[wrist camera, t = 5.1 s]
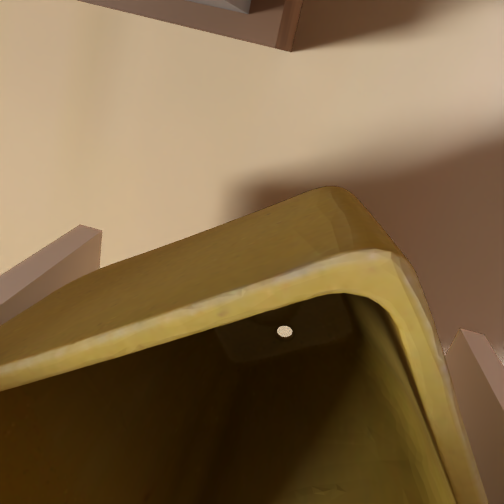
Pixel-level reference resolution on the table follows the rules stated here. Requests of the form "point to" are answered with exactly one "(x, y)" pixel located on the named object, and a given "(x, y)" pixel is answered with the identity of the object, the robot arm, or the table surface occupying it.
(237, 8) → the grey top slab
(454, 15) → the table surface
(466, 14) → the table surface
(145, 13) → the walnut base slab
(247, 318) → the flower pot
